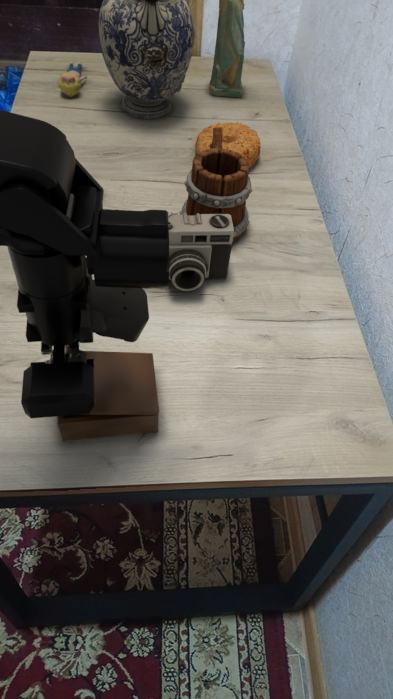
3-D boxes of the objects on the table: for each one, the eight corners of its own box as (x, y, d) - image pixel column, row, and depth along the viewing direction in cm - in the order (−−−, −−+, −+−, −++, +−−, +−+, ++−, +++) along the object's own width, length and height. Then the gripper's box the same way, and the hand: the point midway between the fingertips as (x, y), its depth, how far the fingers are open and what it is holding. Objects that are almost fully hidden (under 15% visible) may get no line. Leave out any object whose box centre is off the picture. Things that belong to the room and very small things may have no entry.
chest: (62, 441, 58) (57, 424, 55) (63, 382, 63) (58, 363, 60) (158, 432, 60) (158, 415, 57) (152, 375, 65) (152, 356, 62)
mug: (180, 249, 80) (184, 157, 70) (177, 208, 90) (180, 123, 80) (251, 250, 81) (265, 160, 71) (240, 209, 91) (251, 125, 81)
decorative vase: (196, 132, 103) (208, -32, 80) (106, 133, 100) (93, -36, 78) (182, 83, 115) (190, -69, 93) (102, 83, 112) (90, -74, 90)
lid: (49, 414, 53) (50, 390, 49) (52, 353, 58) (53, 326, 54) (158, 414, 57) (166, 391, 53) (151, 356, 61) (159, 331, 58)
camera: (134, 295, 73) (132, 241, 65) (140, 256, 79) (140, 202, 71) (226, 302, 74) (236, 250, 66) (226, 262, 79) (234, 210, 72)
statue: (246, 99, 113) (266, -34, 93) (210, 98, 112) (222, -37, 92) (242, 85, 117) (260, -46, 97) (207, 84, 116) (218, -48, 96)
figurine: (64, 71, 116) (56, 98, 107) (61, 51, 113) (52, 77, 103) (89, 73, 117) (83, 100, 107) (87, 52, 114) (81, 78, 104)
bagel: (266, 148, 101) (270, 124, 97) (247, 183, 93) (252, 159, 89) (206, 133, 103) (209, 109, 99) (184, 166, 95) (185, 142, 91)
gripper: (152, 355, 39) (149, 445, 51) (136, 207, 50) (136, 310, 62) (4, 364, 37) (38, 455, 49) (21, 209, 48) (45, 314, 60)
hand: (70, 376), depth 55 cm, fingers closed on lid, 4 cm apart
